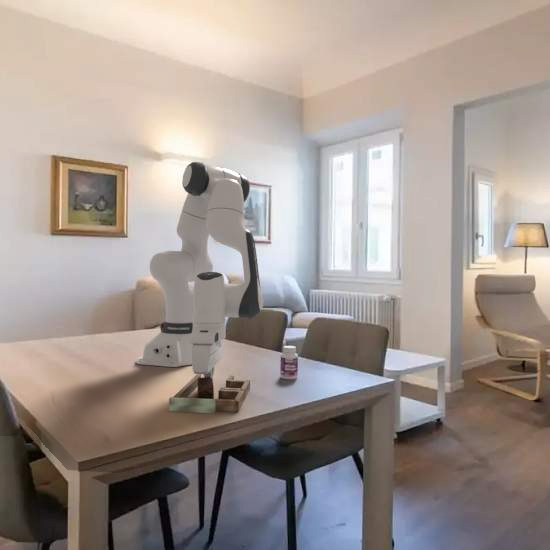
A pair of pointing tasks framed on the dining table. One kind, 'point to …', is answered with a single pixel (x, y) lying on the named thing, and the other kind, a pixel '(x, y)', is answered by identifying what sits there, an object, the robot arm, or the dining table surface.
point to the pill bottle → (289, 363)
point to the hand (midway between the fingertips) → (208, 382)
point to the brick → (205, 388)
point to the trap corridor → (226, 401)
